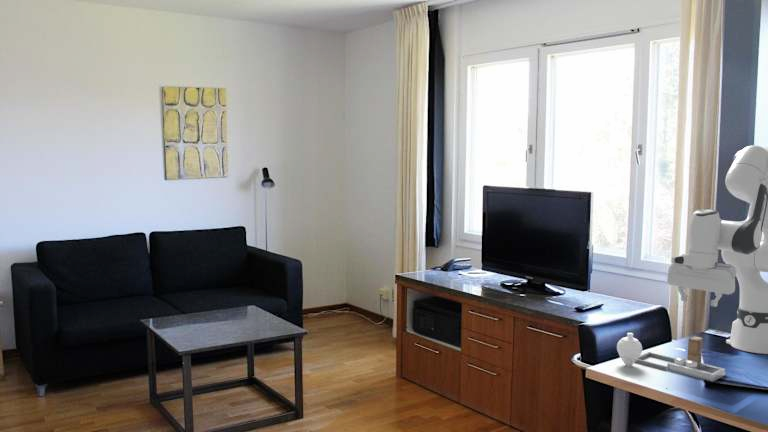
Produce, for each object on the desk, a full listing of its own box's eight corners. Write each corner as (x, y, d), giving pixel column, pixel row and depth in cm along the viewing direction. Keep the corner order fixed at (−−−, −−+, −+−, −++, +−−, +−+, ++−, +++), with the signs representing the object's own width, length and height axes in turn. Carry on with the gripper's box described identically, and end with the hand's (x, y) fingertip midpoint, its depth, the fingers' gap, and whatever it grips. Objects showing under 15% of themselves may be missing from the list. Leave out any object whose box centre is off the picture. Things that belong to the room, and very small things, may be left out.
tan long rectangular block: (692, 366, 222) (694, 336, 221) (700, 368, 220) (702, 338, 219) (686, 369, 219) (688, 338, 218) (694, 371, 217) (696, 340, 216)
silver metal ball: (687, 368, 214) (688, 359, 214) (698, 371, 212) (699, 362, 211) (683, 370, 212) (683, 361, 212) (694, 373, 210) (694, 364, 209)
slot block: (679, 368, 219) (680, 357, 219) (724, 379, 209) (725, 368, 208) (666, 374, 213) (667, 363, 213) (712, 386, 203) (713, 375, 202)
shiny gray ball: (676, 365, 217) (677, 356, 217) (687, 368, 214) (688, 359, 214) (672, 368, 215) (672, 358, 214) (682, 370, 212) (683, 361, 212)
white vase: (619, 364, 222) (621, 328, 221) (643, 369, 218) (645, 332, 217) (612, 370, 216) (614, 333, 214) (637, 375, 212) (639, 337, 210)
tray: (648, 359, 228) (648, 352, 228) (681, 367, 220) (681, 360, 219) (632, 366, 221) (632, 358, 220) (665, 375, 212) (665, 366, 212)
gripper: (740, 264, 210) (736, 308, 211) (675, 255, 225) (672, 296, 226) (732, 266, 206) (728, 310, 207) (666, 257, 221) (663, 298, 222)
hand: (698, 303), depth 217 cm, fingers open, 8 cm apart
